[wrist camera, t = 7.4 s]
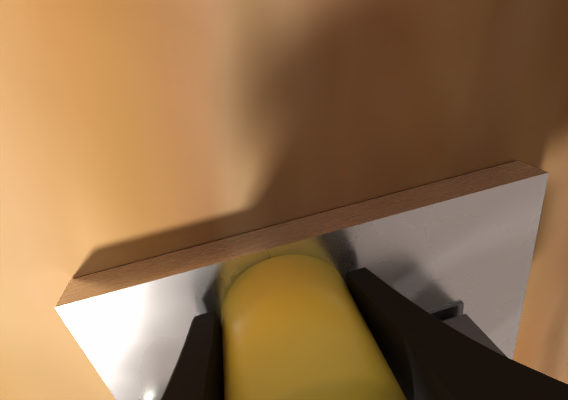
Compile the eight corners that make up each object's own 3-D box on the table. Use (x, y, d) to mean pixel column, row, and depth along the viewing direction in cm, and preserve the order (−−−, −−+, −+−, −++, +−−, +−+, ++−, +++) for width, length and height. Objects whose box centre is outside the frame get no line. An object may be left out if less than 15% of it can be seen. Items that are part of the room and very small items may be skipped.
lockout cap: (357, 325, 12) (419, 452, 8) (247, 367, 12) (263, 514, 8) (330, 235, 10) (398, 350, 6) (199, 284, 10) (193, 428, 6)
